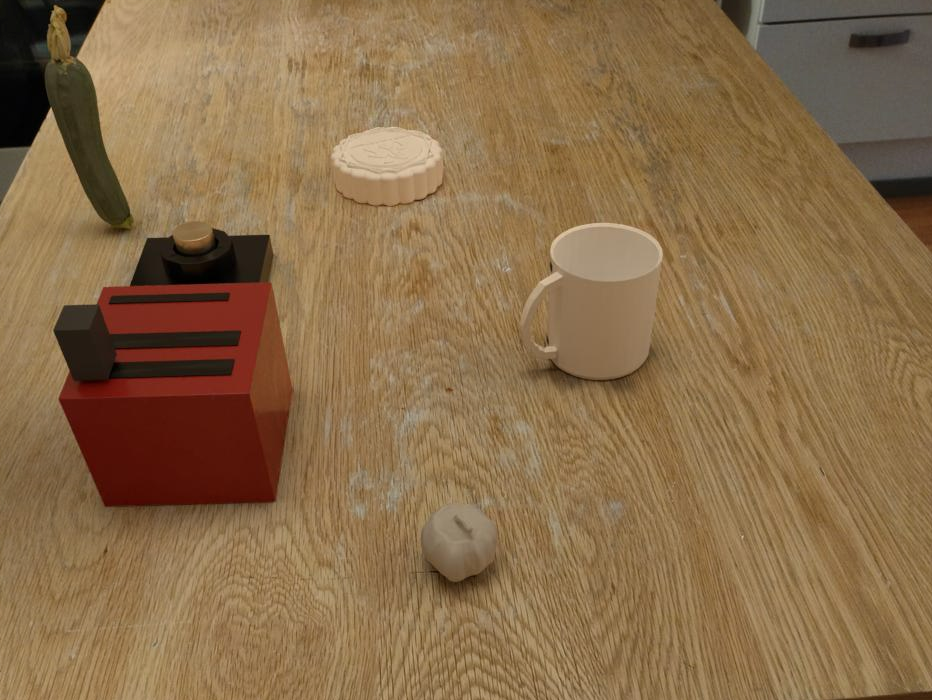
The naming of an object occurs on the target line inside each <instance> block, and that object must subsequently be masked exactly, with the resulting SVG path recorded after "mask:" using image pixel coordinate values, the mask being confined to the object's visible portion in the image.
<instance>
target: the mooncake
mask: <svg viewBox="0 0 932 700" xmlns="http://www.w3.org/2000/svg"><path fill="white" fill-rule="evenodd" d="M330 163H331V164H330V165H331V171H332V181H333V183H334V184H335V188H336V191H337V192H338V193H340V194H342V195H343V197H344V198H345V199H347V200H353V201H354V202H356V203H358V204H368V205H370V206H373V207H379V206H383V205H384V206H387V207H394V206H395V207H396V206H397V205H399V204H402V205H409V204H411V203H413V202H414V201H421V200H423V199H425V198H427V196H428V195H431V194H433V193H435V192H436V191H437V189H438V187H440V186H441V185H442V184H443V177H444V155H443V149H442V147H441V146H440V143H439V142H438V141H437V140H436V139H433V138H432V136H430V134H427V133H424V132H423V131H419V130H416V129H405V128H403V127H398V126H394V125H392V126H388V127H381V126H376V127H374V128H371V129H366V130H364V131H363V132H356V133H353V134H349V135H347V137H346V138H343V139H341V140H340V141H339V143H338V144H337V145H335V146H334V147H333V149H332V153H331V155H330Z"/></svg>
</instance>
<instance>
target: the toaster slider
mask: <svg viewBox="0 0 932 700" xmlns="http://www.w3.org/2000/svg"><path fill="white" fill-rule="evenodd" d="M52 331H53V334H54V336H55V339H56V341H57V344H58V346H59V348H60V351H61V353H62V356H63V358H64V361H65V363H66V366H67V368H68V370H69V371H70V373H71V376H72V378H73V380H74V381H85V380H108V378H109V375H110V372H111V370H112V367H113V364H114V361H115V358H116V356H117V354H116V351H115V348H114V345H113V342H112V340H111V337H110V334H109V331H108V328H107V326H106V323H105V320H104V317H103V314H102V312H101V309H100V306H99V304H97V303H95V304H93V303H92V304H64V305H63V306H62V309H61V311H60V313H59V316H58V318H57V320H56V322H55V325H54V327H53V330H52ZM69 371H68V372H69Z"/></svg>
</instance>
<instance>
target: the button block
mask: <svg viewBox="0 0 932 700" xmlns="http://www.w3.org/2000/svg"><path fill="white" fill-rule="evenodd" d="M212 230H213V235H214V239H215V243H216V249H215V250H213V251H212V252H211V253H209V254H206V255H203V256H199V257H185V256H181V255H179V254H178V252H177V249H176V245H175V242H174V238H173V234H171V235H170V236H168V237H167V236H166V237H165V236H164V237H147V238H146V240H145V242H144V246H143V249H142V251H141V253H140V256H139V259H138V262H137V264H136V267H135V270H134V273H133V276H132V279H131V280H130V283H129V286H154V285H190V284H226V283H262V282H269V280H270V274H271V269H272V265H273V260H274V255H275V254H274V251H273V249H274V248H273V245H272V239H271V234H244V235H243V234H242V235H241V234H240V235H239V234H237V235H228V233H227V232H225V231H224V230H221V229H217V228H214V227H212Z"/></svg>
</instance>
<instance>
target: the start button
mask: <svg viewBox="0 0 932 700" xmlns="http://www.w3.org/2000/svg"><path fill="white" fill-rule="evenodd" d="M212 228H213V227H212V225H211V224H209V223H208V222H205V221H199V220H198V221H197V220H195V221H188V222H184V223H181V224H179V225H177V226H176V227H174V229H173V231H172V235H173V238H174V242H175V245H176V249H177V252H178V254H179V255H181V256H185V257H199V256H203V255H206V254H209V253H211V252H212V251H213V250H215V249H216V243H215V239H214V235H213V230H212Z"/></svg>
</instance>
